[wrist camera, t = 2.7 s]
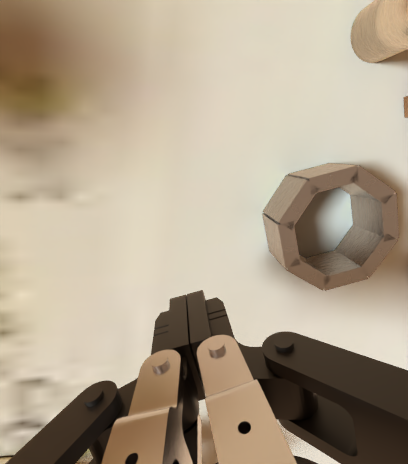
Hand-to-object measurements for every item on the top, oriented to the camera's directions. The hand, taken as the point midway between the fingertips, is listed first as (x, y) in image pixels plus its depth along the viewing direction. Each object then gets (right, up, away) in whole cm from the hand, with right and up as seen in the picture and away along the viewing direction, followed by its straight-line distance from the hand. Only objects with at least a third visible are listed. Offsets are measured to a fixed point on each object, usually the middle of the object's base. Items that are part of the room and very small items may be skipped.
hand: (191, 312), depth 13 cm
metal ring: (+8, +4, +6) cm, 11 cm away
